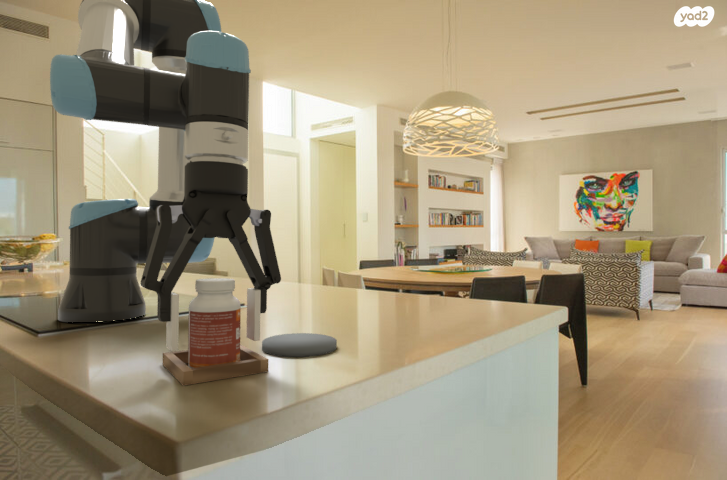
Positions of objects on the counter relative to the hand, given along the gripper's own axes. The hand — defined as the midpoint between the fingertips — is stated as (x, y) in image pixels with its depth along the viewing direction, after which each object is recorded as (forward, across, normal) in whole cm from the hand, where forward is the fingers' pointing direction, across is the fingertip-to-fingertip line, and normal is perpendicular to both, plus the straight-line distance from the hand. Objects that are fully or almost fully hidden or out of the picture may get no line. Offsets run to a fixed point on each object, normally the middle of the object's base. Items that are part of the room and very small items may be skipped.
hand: (214, 343), depth 58 cm
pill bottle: (+3, 0, 0) cm, 3 cm away
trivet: (+3, +14, +4) cm, 15 cm away
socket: (+3, 0, 0) cm, 3 cm away
